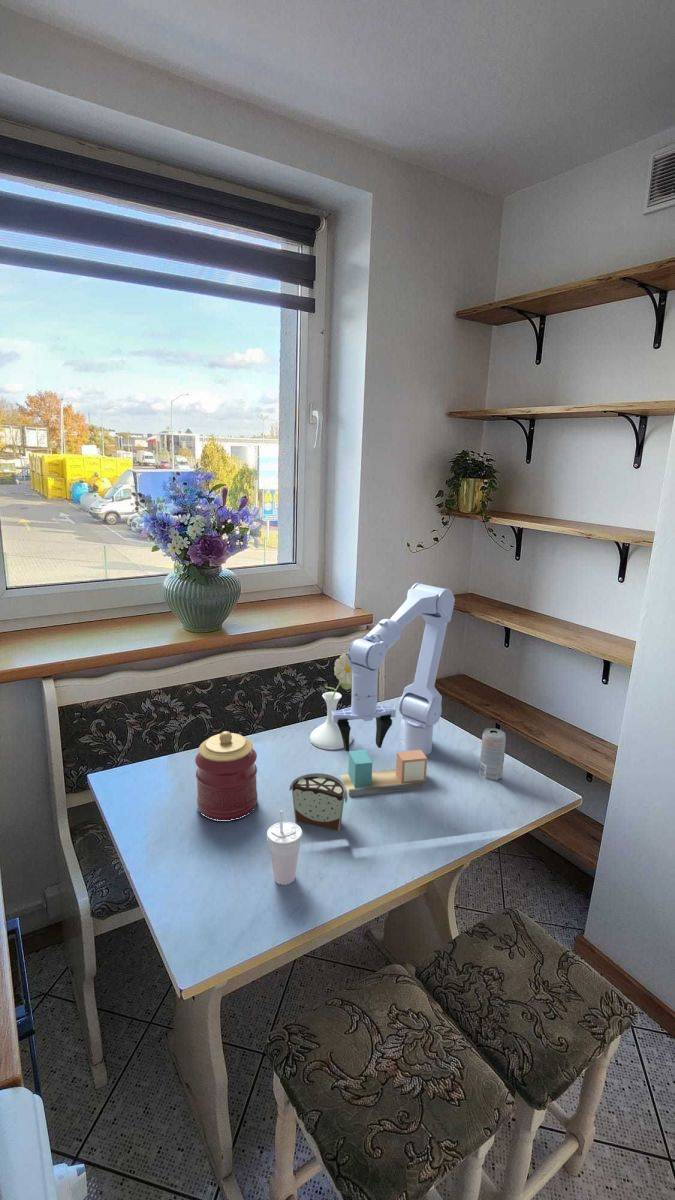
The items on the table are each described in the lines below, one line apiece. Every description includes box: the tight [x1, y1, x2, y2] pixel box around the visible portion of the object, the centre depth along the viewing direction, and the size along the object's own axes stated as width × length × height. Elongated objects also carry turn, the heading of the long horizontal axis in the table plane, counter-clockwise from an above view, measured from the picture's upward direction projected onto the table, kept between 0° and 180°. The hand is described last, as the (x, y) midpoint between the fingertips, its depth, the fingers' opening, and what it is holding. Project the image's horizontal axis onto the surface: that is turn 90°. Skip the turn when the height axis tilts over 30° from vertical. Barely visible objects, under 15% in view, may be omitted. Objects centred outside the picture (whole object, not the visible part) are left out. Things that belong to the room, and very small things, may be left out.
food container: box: [289, 772, 349, 832], centre depth 126 cm, size 12×6×10 cm, turn 71°
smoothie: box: [266, 809, 303, 886], centre depth 109 cm, size 6×6×14 cm
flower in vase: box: [309, 653, 354, 751], centre depth 157 cm, size 13×11×25 cm
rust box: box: [395, 750, 428, 784], centre depth 141 cm, size 4×6×6 cm
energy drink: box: [478, 727, 507, 783], centre depth 143 cm, size 5×5×12 cm
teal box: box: [347, 749, 373, 788], centre depth 140 cm, size 4×6×6 cm
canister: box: [194, 730, 258, 820], centre depth 130 cm, size 13×13×18 cm
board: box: [340, 768, 423, 797], centre depth 141 cm, size 9×17×3 cm, turn 103°
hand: (362, 747), depth 138 cm, fingers open, 7 cm apart
